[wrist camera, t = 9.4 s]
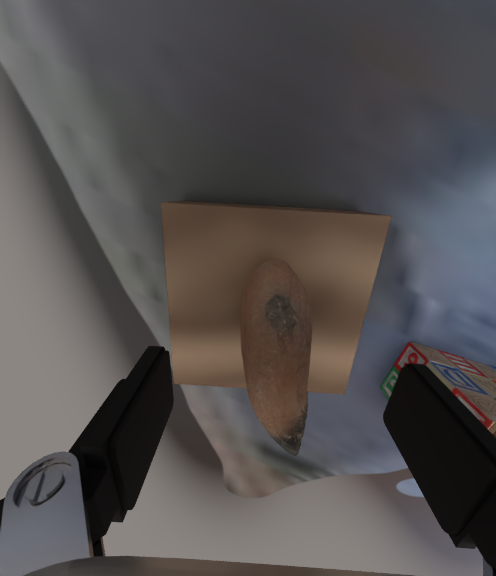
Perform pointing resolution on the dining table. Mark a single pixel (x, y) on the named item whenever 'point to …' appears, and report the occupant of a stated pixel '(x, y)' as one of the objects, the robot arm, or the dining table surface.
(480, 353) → the dining table surface
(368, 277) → the walnut base block
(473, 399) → the stack of blocks
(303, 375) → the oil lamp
